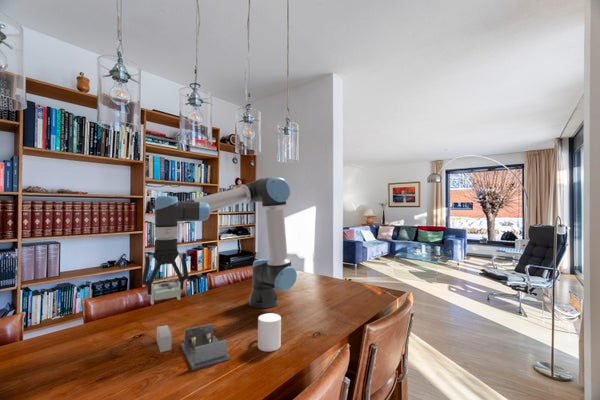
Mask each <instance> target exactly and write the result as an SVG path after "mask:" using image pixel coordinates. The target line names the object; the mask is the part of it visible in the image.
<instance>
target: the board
mask: <svg viewBox="0 0 600 400" xmlns="http://www.w3.org/2000/svg"><path fill="white" fill-rule="evenodd" d="M152 284H153V283H152ZM153 285H154V301H158V300H166V299H171V298H177V297H178V296H180V297H181V296H182V295H181V294H182V290H181V289H180V288H179V286H178V285H177V282H176V281H164V282H163V281H162V282H160V283H156V284H153Z"/></svg>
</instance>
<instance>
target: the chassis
mask: <svg viewBox="0 0 600 400" xmlns="http://www.w3.org/2000/svg"><path fill="white" fill-rule="evenodd" d="M183 335H184V336H183V338H184V339H183V341H184V342H181V343H180V348H181V350H182V351H183V354H184V356H185V357H186V360H187V362H188V364H189V367H190V368H191V371H195V370H199V369H201V368H205V367H209V366H212V365H215V364H218V363H221V362H222V363H223V362H226V361H229V360H231V355H230V354H229V353H228V351H227V349H228V348H227V347H228V340H227V339H222V340H221V339H220V340H218V338H217V337H216V336H215V335H214V323H213V322H212V323H208V324H204V325H203V324H202V325H198V326H194V327H188V328H184V334H183Z"/></svg>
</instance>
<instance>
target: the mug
mask: <svg viewBox="0 0 600 400" xmlns="http://www.w3.org/2000/svg"><path fill="white" fill-rule="evenodd" d="M281 337H282V317H281V315H280V314H277V313H275V312H274V313H273V312H272V313H271V312H268V313H263V314H260V315H259V316H258V317H257V348H258V349H259V350H260V351H262V352H275V351H278V350H279V349H280V348H281V345H282V343H281V342H282V338H281Z"/></svg>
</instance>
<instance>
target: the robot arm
mask: <svg viewBox="0 0 600 400" xmlns="http://www.w3.org/2000/svg"><path fill="white" fill-rule="evenodd" d="M290 195H291V188H290V185H289V182H287V180H286V179H284V178H282V177H280V176H279V177H278V176H273V177H266V178H259V179H256V180H254V181H251V182H247V183H244V184H241V185H240V186H239V187H237V188H233V189H229V190H225V191H224V190H223V191H221V192H216V193H212V194H208V195H204V196H201V197H200V196H199V197H197V198H192V199H188V200H184V201H179V200H178V199H179V198H178V197H177V196H175V195H174V196H172V195H171V196H170V195H169V196H168V195H167V196H166V195H162V196H161V195H160V196H156V198H155V204H154V238H155V240H154V252H153V254H150V255H147V254H146V255H144V261H145V262H144V266H143V267H144V269H143V273H142V278H141V285H143V286H147V287H146V291H147V296H149V295H150V304H151V305H154V304H155V298H154V285H153V283H154V280H155V278H156V276H157V274H158V272H159V270H160V268H161V266H163V265H172V268H173V270H174V271H175V274H176V276H177V278H178V280H176V284H177V285H178V286H179V288H180V289H181V291H183V289H184V282H185V280H188V279H190V278H189V271H188V265H187V253H186V252H184V251H183V252H179V250H178V238H177V237H178V227H179V226H178V222H180V223H182V222H203V221H204V222H205V221H207V220H208V219H209V217H210V214H211V213H212V212H214V211H218V210H222V209H226V208H229V207H233V206H236V205H238V204H243V203H244V204H246V205H247V204H249V203H250V204H251V203H259V202H260V203H261V206H262V208H263V209H264V210H265V215H266V217H265V218H266V219H265V220H266V227H267V228H266V229H267V242H268V252H269V258H260V259H256V260H255V259H254V261H253V263H252V286H251V287H252V288H251V289H252V290H251V292H250V295H249V297H248V306H250V307H251V308H256V309H269V308H273V307H276V306H278V304H279V297H278V293H277V291H281V292H286V291H288V290H290V289H291V288H293V287H294V285H295V283H296V281H297V277H298V275H297V270H296V269H295V268H294V267H293V266H292V261H291V259H290V258H289V257H288V248H287V247H288V246H287V237H286V236H287V235H286V224H285V223H286V222H285V211H284V209H285V208H286V206H287V201H288V200H289V197H290ZM178 256H179V259H180V261H181V267H182V272H183V273H181V270H180V269H179V267H178V264H177V263H176V259H177V257H178ZM153 259H154V260H156V262H155V265H154V267H153V270H152V272H151V274H150V276H149V278H148V274H149V270H150V266H151V265H150V264H151V262H152V261H153ZM182 274H183V275H182ZM276 290H277V291H276ZM176 299H177V300H178V301H181V296H178V297H176Z"/></svg>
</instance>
